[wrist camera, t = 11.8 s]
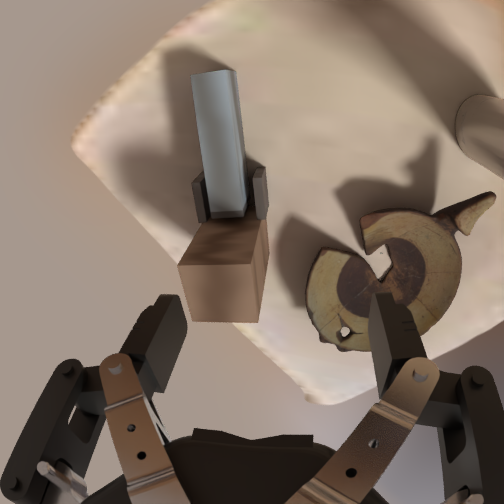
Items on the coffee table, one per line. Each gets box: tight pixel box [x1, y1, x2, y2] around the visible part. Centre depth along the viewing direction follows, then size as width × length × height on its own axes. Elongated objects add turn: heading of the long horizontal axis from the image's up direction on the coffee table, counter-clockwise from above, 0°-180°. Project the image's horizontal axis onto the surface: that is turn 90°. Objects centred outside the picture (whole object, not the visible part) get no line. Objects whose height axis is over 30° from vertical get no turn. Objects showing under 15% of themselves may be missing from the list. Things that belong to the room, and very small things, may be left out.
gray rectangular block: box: [190, 70, 250, 219], centre depth 34 cm, size 4×16×6 cm, turn 6°
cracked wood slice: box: [305, 191, 496, 352], centre depth 39 cm, size 22×30×8 cm
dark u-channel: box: [177, 167, 269, 323], centre depth 36 cm, size 8×12×14 cm, turn 6°
